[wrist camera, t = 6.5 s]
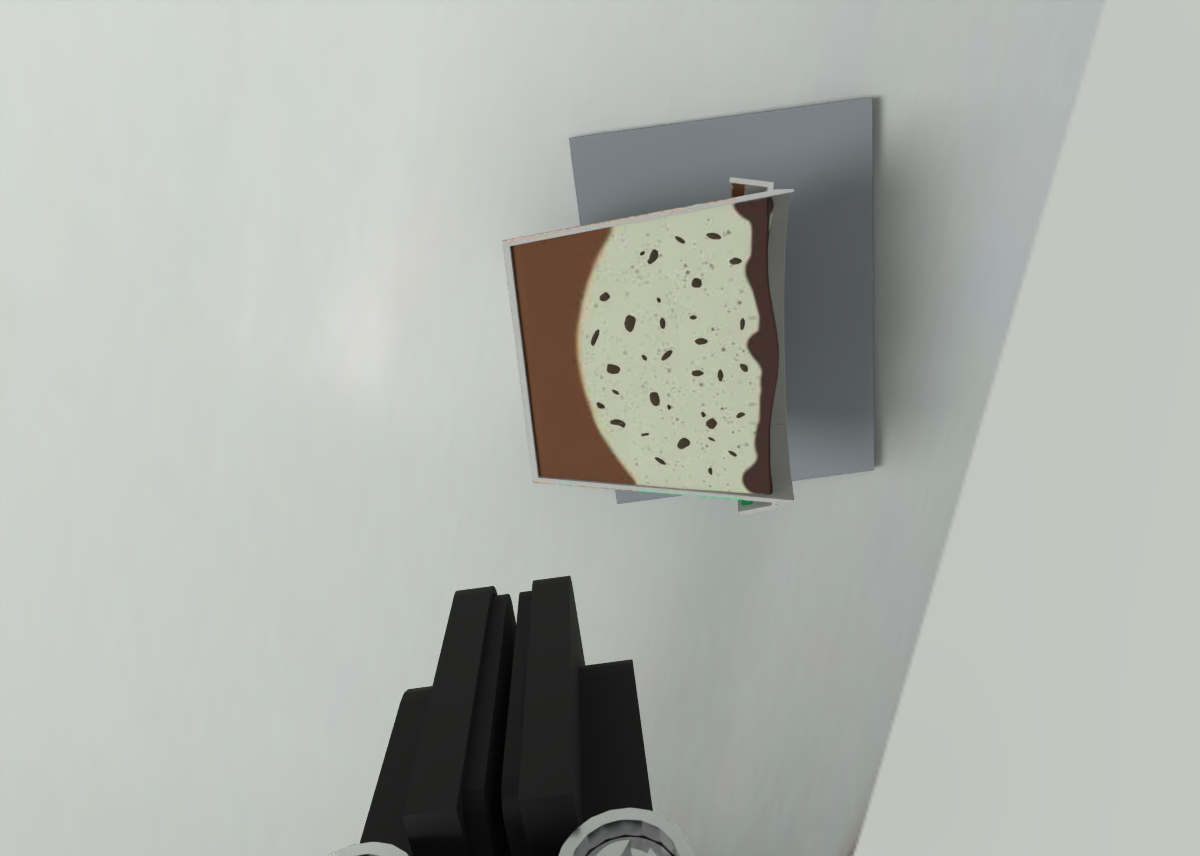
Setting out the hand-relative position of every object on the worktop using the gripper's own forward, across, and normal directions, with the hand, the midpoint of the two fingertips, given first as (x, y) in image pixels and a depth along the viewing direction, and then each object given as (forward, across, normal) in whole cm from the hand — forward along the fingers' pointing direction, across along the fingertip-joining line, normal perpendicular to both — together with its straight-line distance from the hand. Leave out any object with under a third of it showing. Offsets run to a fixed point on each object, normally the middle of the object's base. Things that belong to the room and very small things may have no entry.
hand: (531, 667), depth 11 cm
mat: (+23, -8, +1) cm, 24 cm away
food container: (+21, +1, +1) cm, 21 cm away
